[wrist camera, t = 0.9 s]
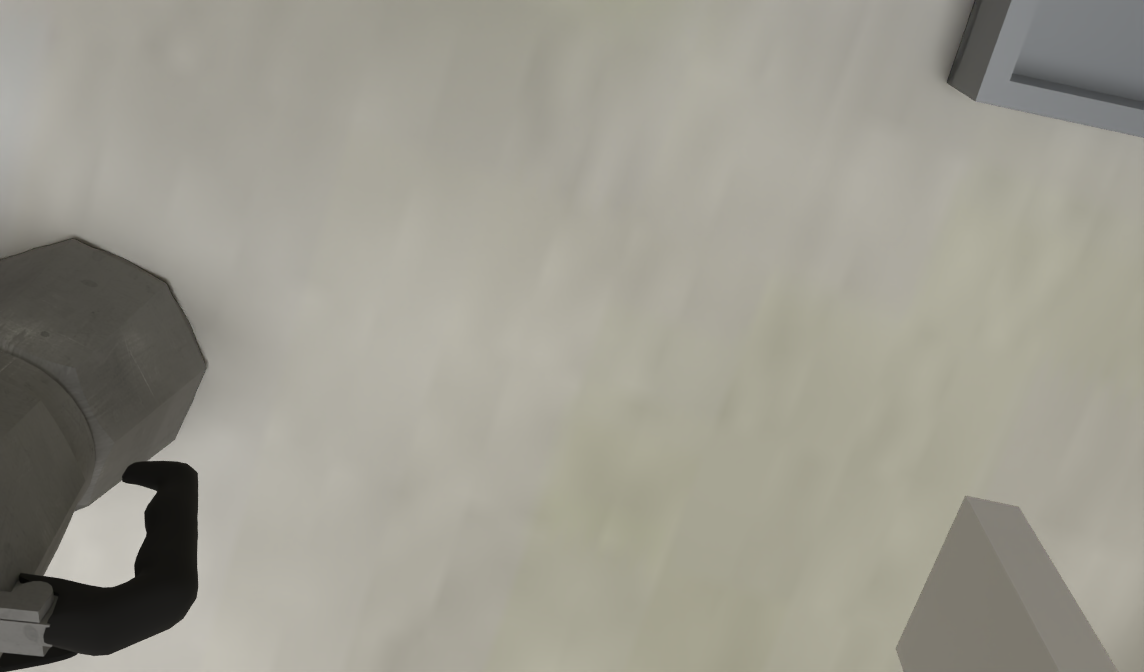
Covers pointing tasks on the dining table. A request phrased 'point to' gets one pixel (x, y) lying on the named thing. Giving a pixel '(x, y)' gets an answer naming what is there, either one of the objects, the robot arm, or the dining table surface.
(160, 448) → the coffeepot
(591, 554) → the dining table surface
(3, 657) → the glasses
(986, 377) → the dining table surface
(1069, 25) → the tray
